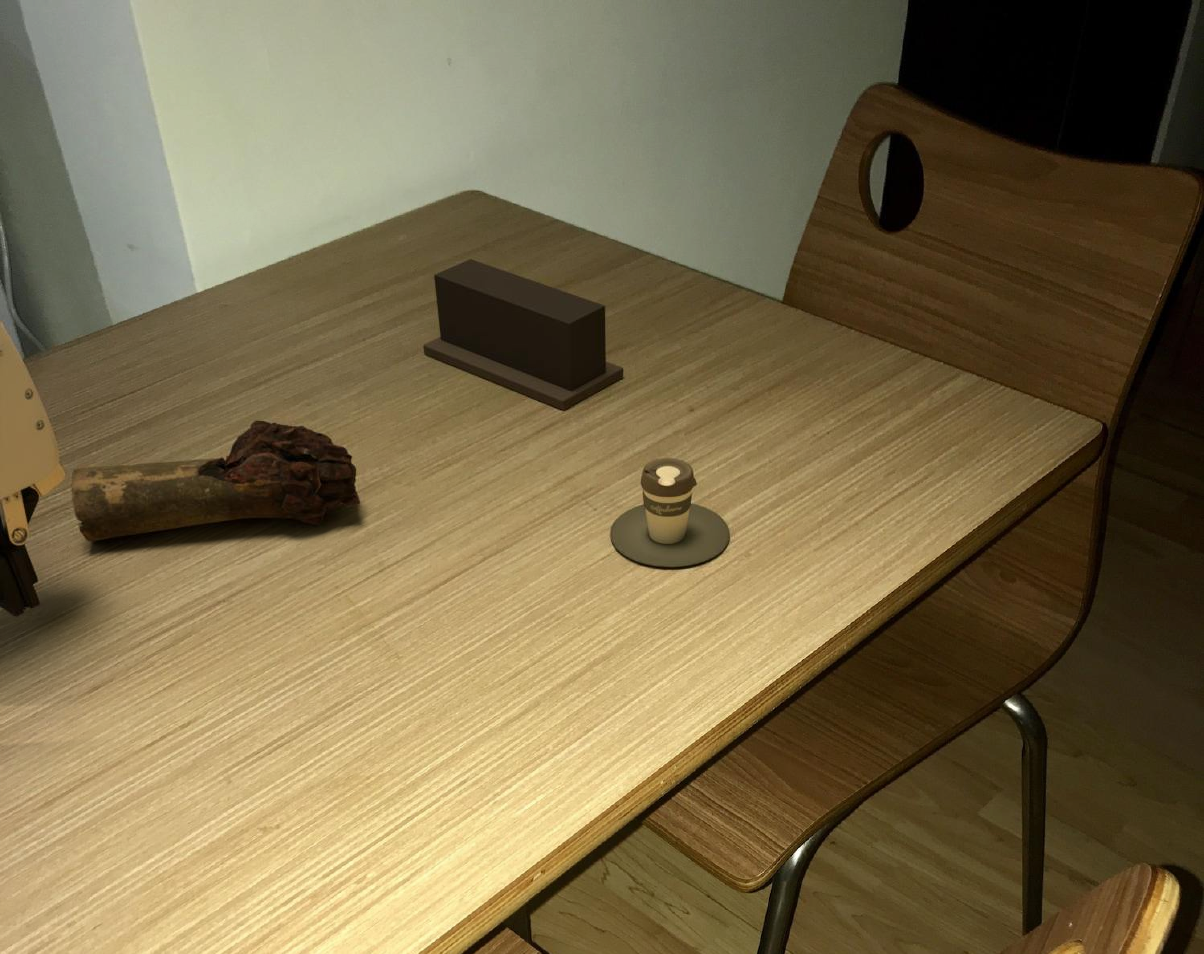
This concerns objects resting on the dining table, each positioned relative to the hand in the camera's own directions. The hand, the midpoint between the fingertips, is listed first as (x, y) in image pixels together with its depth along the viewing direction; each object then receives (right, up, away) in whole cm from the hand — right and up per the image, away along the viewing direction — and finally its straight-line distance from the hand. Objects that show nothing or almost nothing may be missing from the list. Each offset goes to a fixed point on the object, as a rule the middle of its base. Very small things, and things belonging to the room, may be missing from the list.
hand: (15, 602), depth 76 cm
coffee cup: (+39, +5, +7) cm, 40 cm away
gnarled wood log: (+10, +7, +10) cm, 16 cm away
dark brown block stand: (+29, +22, +25) cm, 44 cm away
